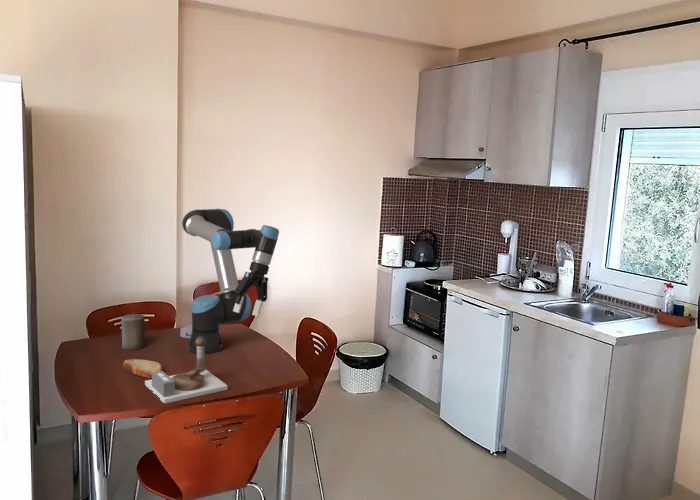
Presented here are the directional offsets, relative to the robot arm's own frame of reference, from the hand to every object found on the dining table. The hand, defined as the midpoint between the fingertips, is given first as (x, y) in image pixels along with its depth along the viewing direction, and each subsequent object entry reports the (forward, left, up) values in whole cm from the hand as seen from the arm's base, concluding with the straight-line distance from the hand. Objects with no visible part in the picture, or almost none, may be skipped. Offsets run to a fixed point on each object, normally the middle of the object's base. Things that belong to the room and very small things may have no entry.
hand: (245, 314), depth 241 cm
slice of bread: (-19, -36, -24) cm, 47 cm away
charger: (-53, +2, -24) cm, 58 cm away
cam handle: (+6, -25, -21) cm, 34 cm away
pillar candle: (-49, -29, -23) cm, 62 cm away
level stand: (+6, -27, -23) cm, 36 cm away
